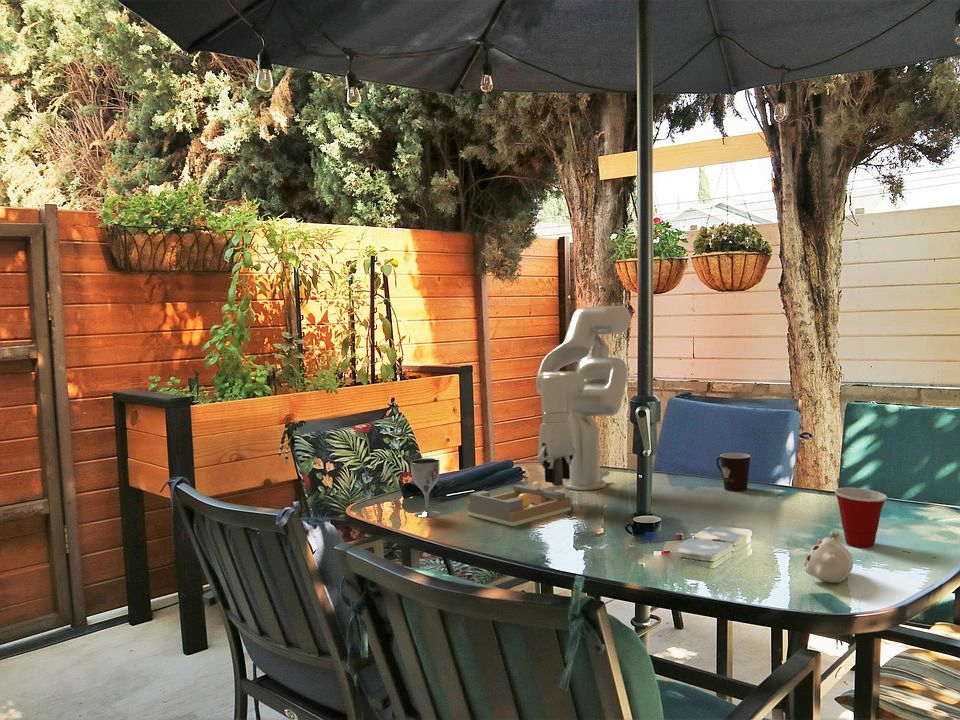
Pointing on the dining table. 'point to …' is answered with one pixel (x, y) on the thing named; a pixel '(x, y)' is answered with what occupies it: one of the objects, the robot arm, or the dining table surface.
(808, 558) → the white bulbous lump
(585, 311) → the robot arm
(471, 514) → the foosball lane
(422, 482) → the wine glass
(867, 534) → the plastic cup
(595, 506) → the dining table surface
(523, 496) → the ball
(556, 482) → the kicker rod
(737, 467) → the coffee mug
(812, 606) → the dining table surface
